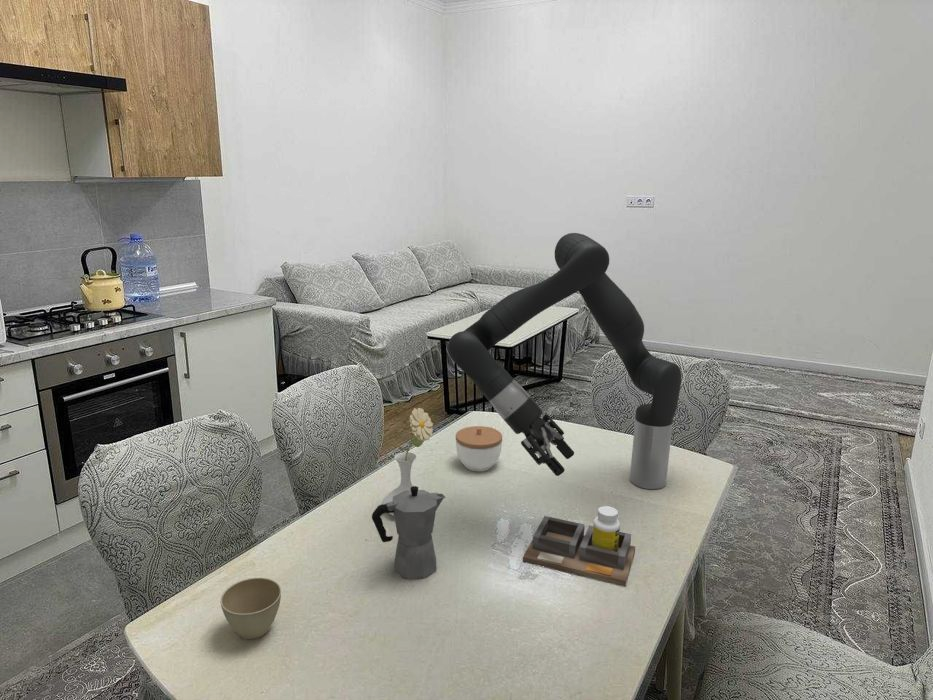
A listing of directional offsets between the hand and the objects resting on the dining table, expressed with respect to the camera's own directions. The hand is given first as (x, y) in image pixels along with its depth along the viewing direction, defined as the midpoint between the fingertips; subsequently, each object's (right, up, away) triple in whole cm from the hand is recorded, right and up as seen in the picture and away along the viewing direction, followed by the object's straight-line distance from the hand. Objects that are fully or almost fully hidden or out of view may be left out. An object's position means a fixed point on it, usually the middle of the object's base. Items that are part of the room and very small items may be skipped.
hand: (566, 464), depth 137 cm
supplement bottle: (+8, -18, -1) cm, 20 cm away
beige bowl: (-58, -25, -22) cm, 67 cm away
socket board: (+3, -19, 0) cm, 19 cm away
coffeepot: (-33, -20, -4) cm, 39 cm away
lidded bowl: (-18, -8, +41) cm, 45 cm away
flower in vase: (-35, -14, +18) cm, 42 cm away
